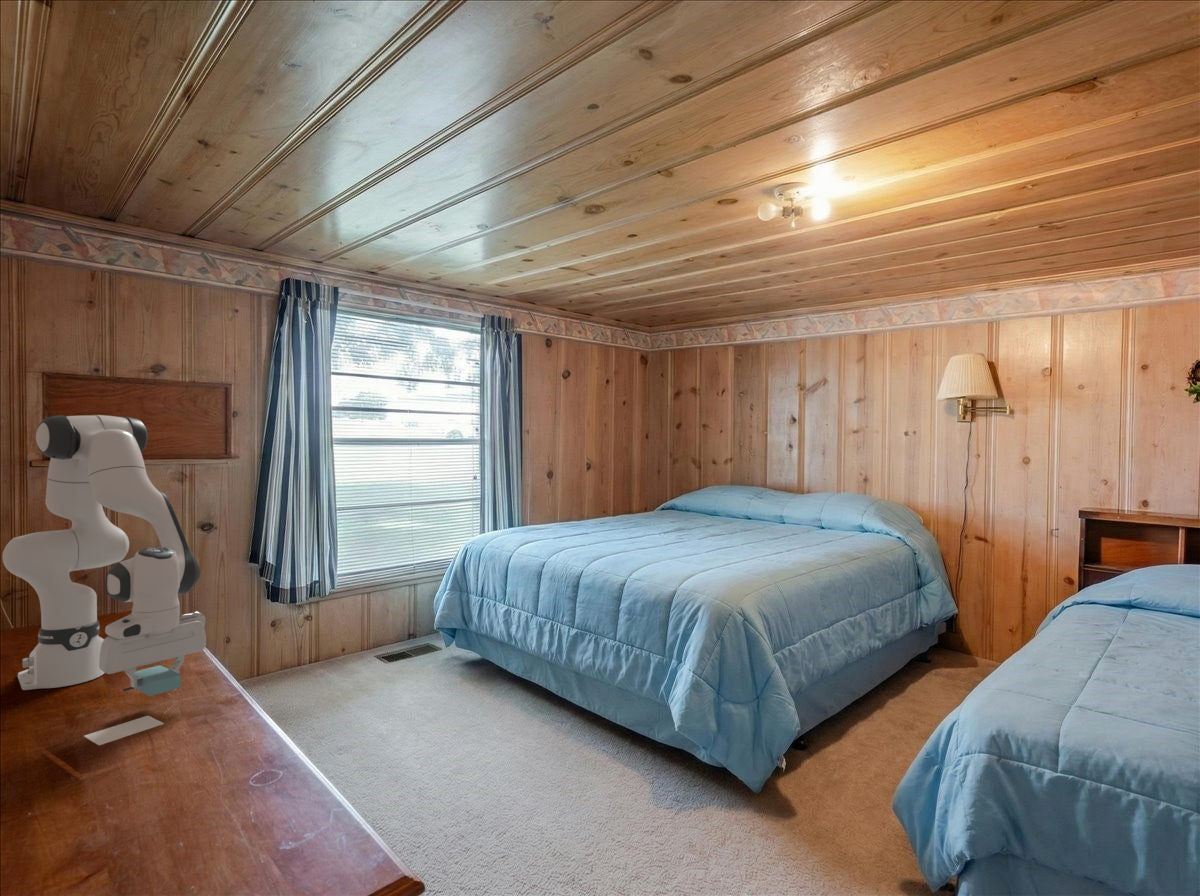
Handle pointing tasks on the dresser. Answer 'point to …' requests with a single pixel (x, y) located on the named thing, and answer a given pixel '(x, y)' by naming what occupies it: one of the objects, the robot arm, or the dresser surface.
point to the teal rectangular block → (157, 680)
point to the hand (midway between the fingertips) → (155, 680)
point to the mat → (123, 730)
